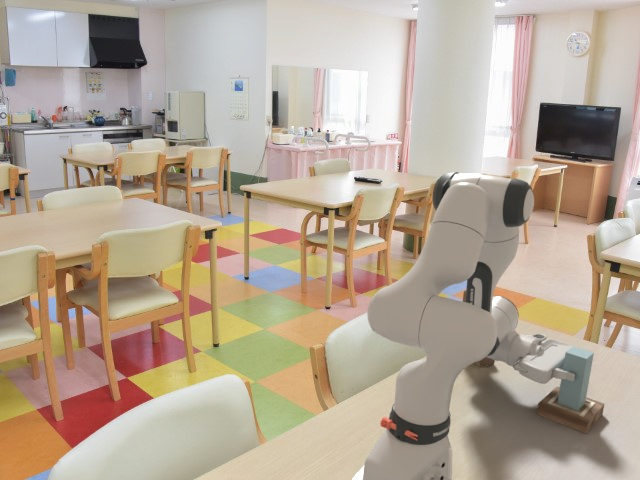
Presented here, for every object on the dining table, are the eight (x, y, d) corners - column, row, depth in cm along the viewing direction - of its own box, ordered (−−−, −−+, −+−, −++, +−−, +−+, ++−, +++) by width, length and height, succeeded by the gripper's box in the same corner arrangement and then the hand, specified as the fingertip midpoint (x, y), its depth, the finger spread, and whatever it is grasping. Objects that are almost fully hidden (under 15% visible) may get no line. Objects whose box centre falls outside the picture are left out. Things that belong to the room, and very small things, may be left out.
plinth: (585, 433, 141) (588, 421, 140) (536, 413, 149) (538, 402, 148) (602, 414, 150) (604, 402, 149) (555, 396, 158) (557, 385, 157)
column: (577, 411, 145) (586, 358, 142) (557, 403, 149) (565, 352, 145) (585, 403, 149) (593, 352, 145) (564, 396, 152) (573, 345, 148)
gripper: (510, 354, 146) (566, 374, 137) (543, 331, 161) (596, 348, 152) (507, 377, 148) (562, 398, 139) (540, 353, 163) (592, 370, 154)
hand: (580, 372), depth 146 cm, fingers open, 6 cm apart
